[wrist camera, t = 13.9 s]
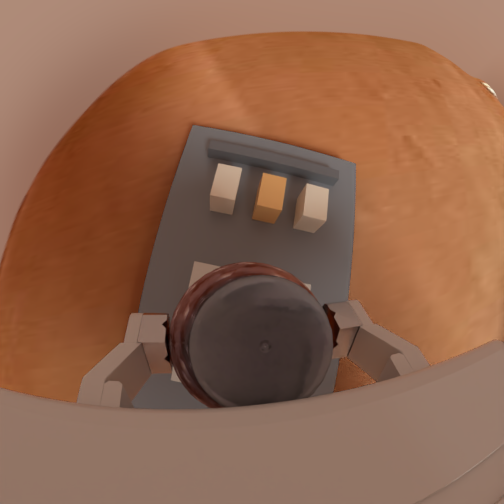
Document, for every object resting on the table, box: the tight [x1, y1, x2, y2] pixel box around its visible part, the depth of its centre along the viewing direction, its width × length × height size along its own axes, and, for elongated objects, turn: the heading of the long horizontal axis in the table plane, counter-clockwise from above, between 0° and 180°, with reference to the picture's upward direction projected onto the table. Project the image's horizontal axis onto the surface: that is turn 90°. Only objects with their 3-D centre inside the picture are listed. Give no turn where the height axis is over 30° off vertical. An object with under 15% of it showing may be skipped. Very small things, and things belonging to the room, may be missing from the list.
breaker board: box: [132, 125, 356, 409], centre depth 19 cm, size 22×14×4 cm, turn 170°
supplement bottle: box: [168, 262, 333, 408], centre depth 13 cm, size 6×6×11 cm
